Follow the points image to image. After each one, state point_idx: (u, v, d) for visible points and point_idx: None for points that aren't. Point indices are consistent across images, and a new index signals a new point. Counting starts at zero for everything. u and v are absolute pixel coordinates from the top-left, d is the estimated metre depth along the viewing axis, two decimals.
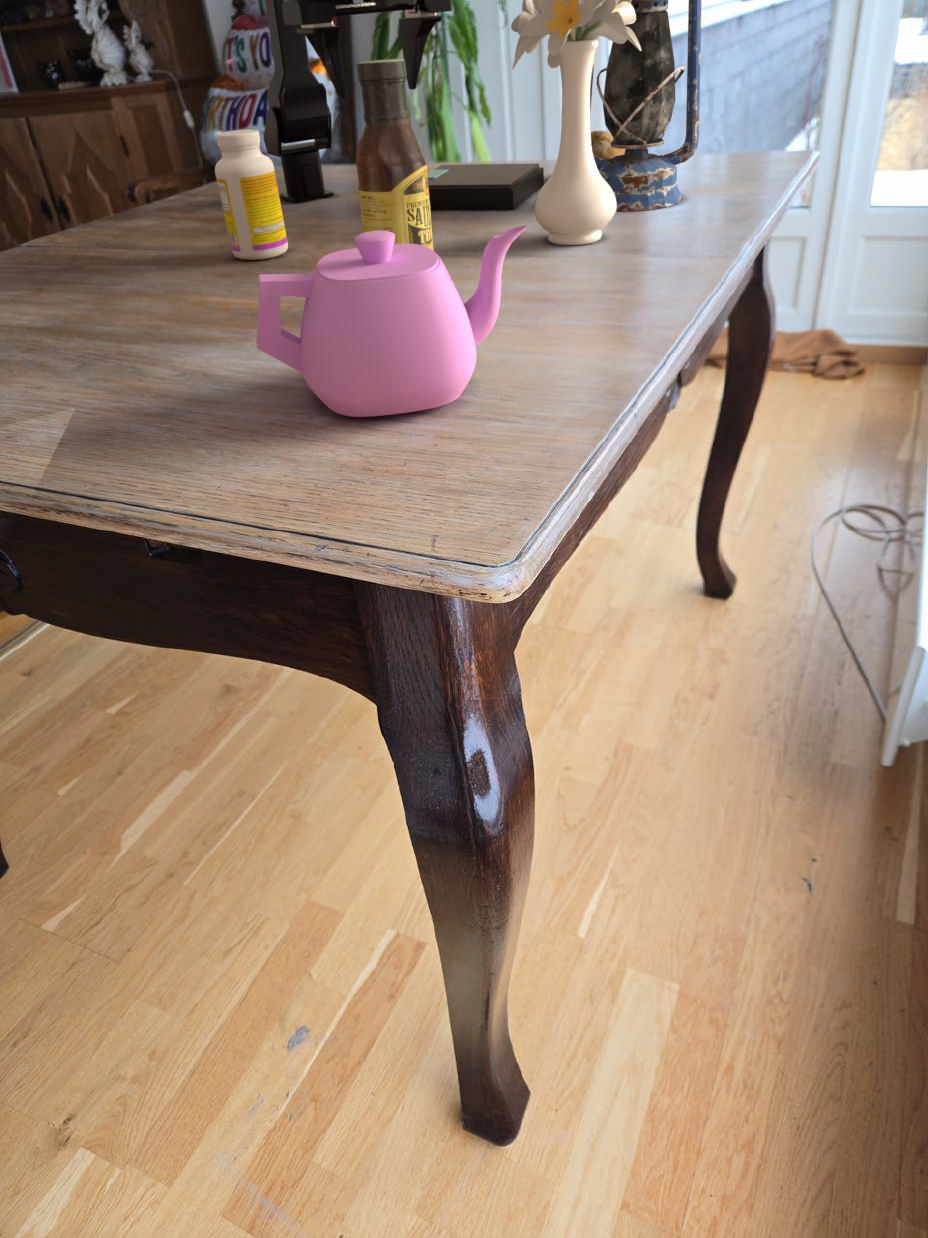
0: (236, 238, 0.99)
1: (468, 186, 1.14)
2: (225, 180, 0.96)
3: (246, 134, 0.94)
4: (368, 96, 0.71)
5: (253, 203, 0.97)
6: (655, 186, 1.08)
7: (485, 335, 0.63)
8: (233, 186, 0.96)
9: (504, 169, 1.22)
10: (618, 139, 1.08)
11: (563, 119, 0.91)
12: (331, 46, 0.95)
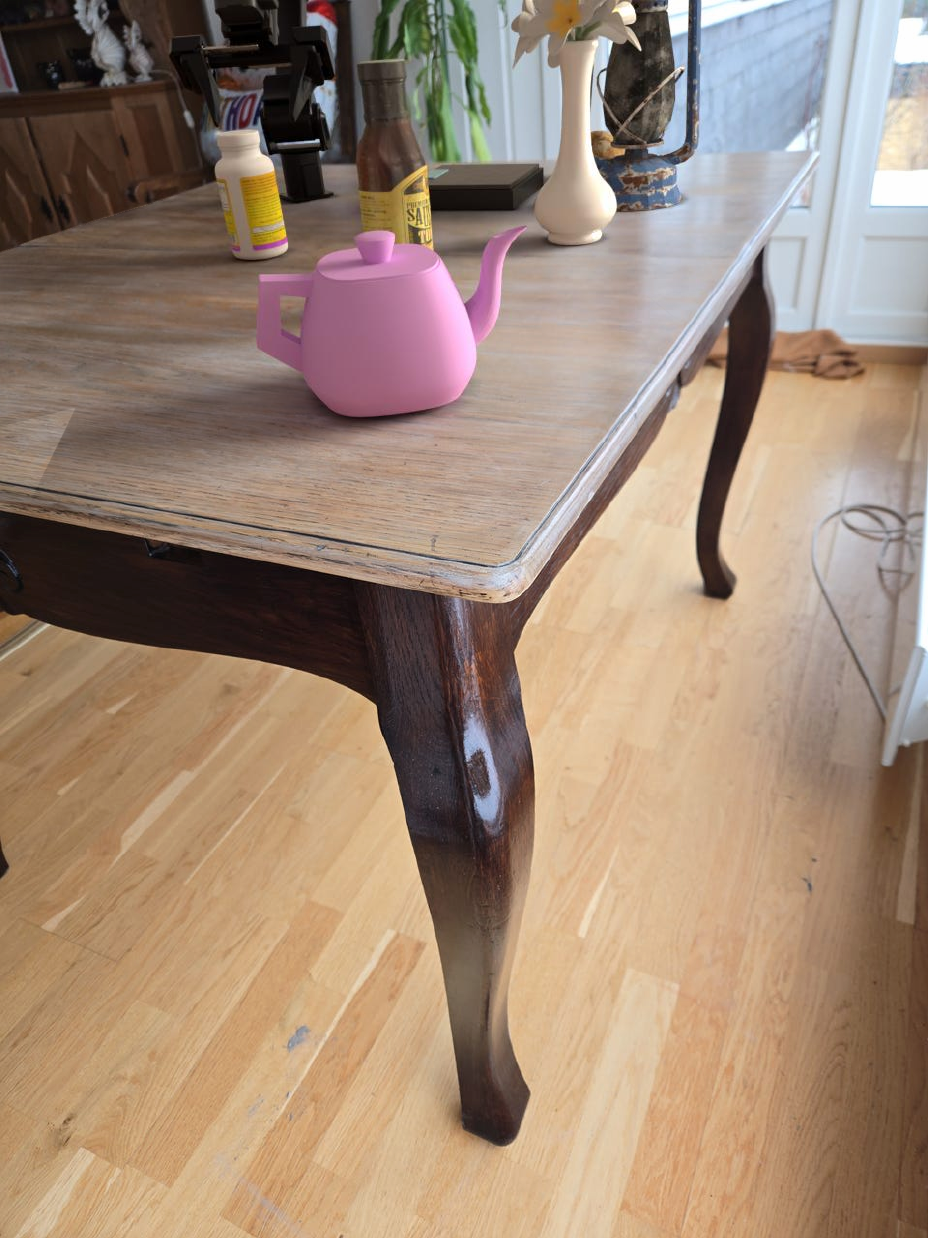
0: (236, 238, 0.99)
1: (468, 186, 1.14)
2: (225, 180, 0.96)
3: (246, 134, 0.94)
4: (368, 96, 0.71)
5: (253, 203, 0.97)
6: (655, 186, 1.08)
7: (485, 335, 0.63)
8: (233, 186, 0.96)
9: (504, 169, 1.22)
10: (618, 139, 1.08)
11: (563, 119, 0.91)
12: (200, 76, 1.01)
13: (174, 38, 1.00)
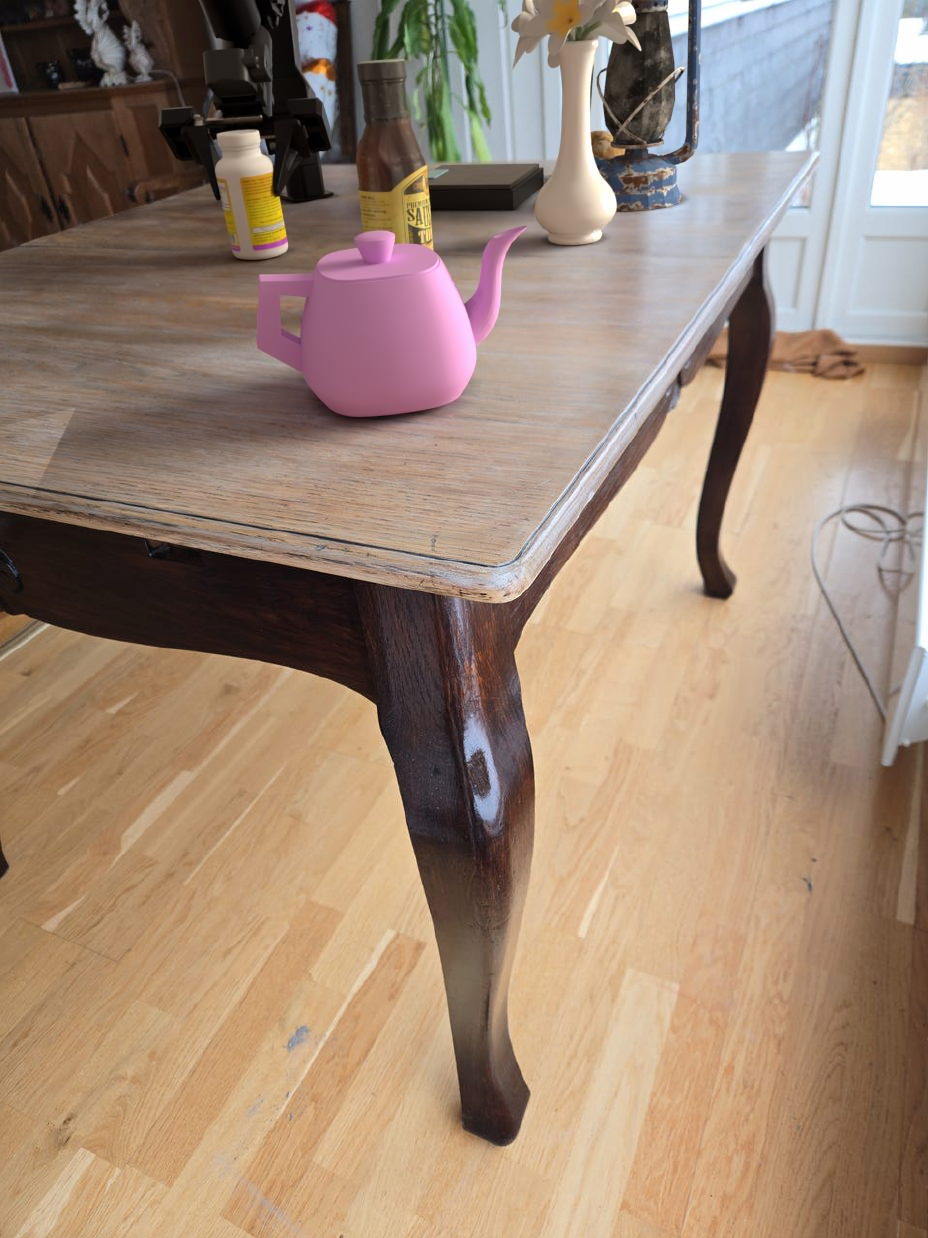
0: (236, 238, 0.99)
1: (468, 186, 1.14)
2: (225, 180, 0.96)
3: (246, 134, 0.94)
4: (368, 96, 0.71)
5: (253, 203, 0.97)
6: (655, 186, 1.08)
7: (485, 335, 0.63)
8: (233, 186, 0.96)
9: (504, 169, 1.22)
10: (618, 139, 1.08)
11: (563, 119, 0.91)
12: (201, 148, 0.97)
13: (164, 110, 0.97)
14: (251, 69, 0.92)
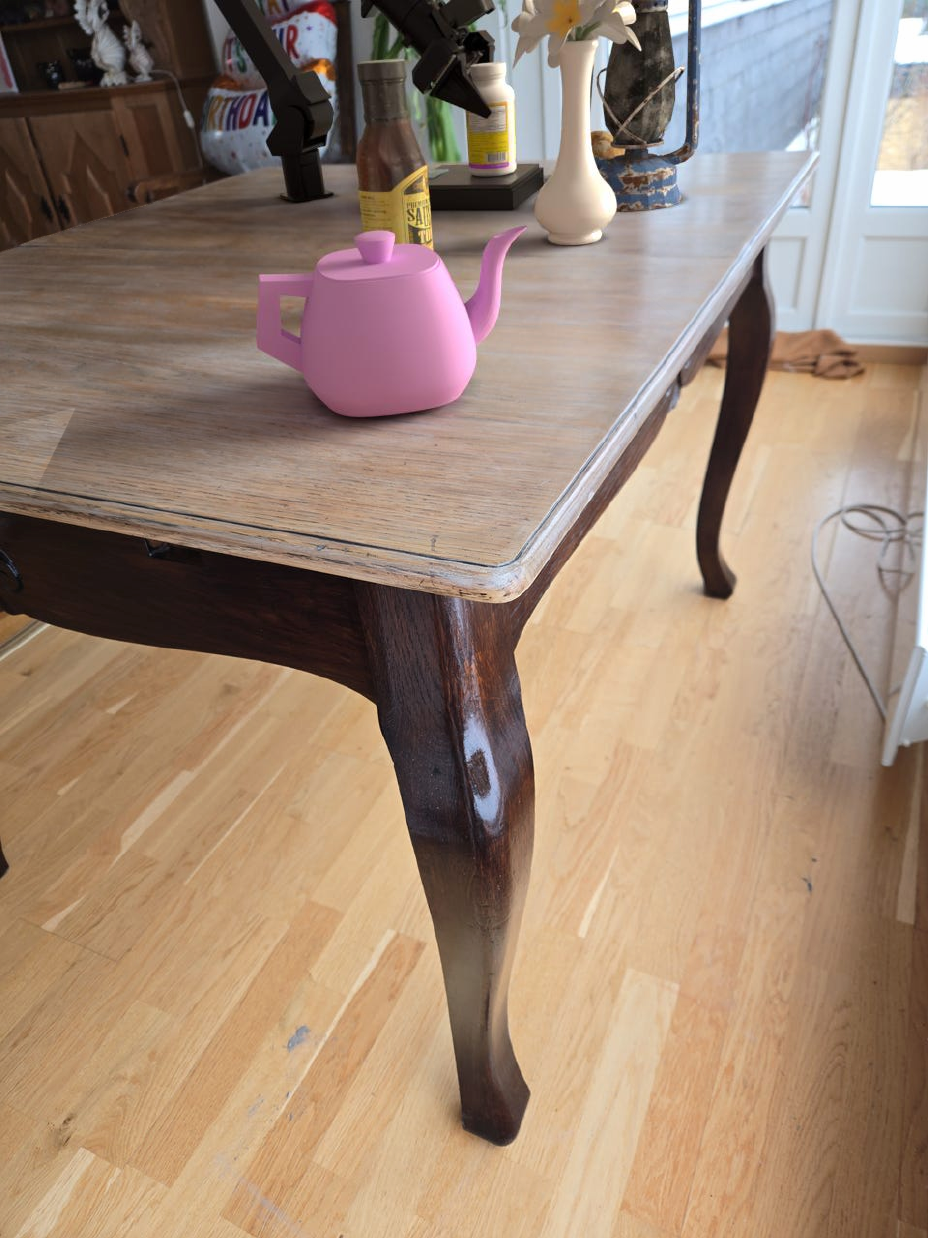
0: (507, 154, 1.16)
1: (468, 186, 1.14)
2: (506, 102, 1.12)
3: (504, 62, 1.13)
4: (368, 96, 0.71)
5: None
6: (655, 186, 1.08)
7: (485, 335, 0.63)
8: (510, 107, 1.13)
9: None
10: (618, 139, 1.08)
11: (563, 119, 0.91)
12: (465, 74, 1.08)
13: (444, 40, 1.05)
14: None
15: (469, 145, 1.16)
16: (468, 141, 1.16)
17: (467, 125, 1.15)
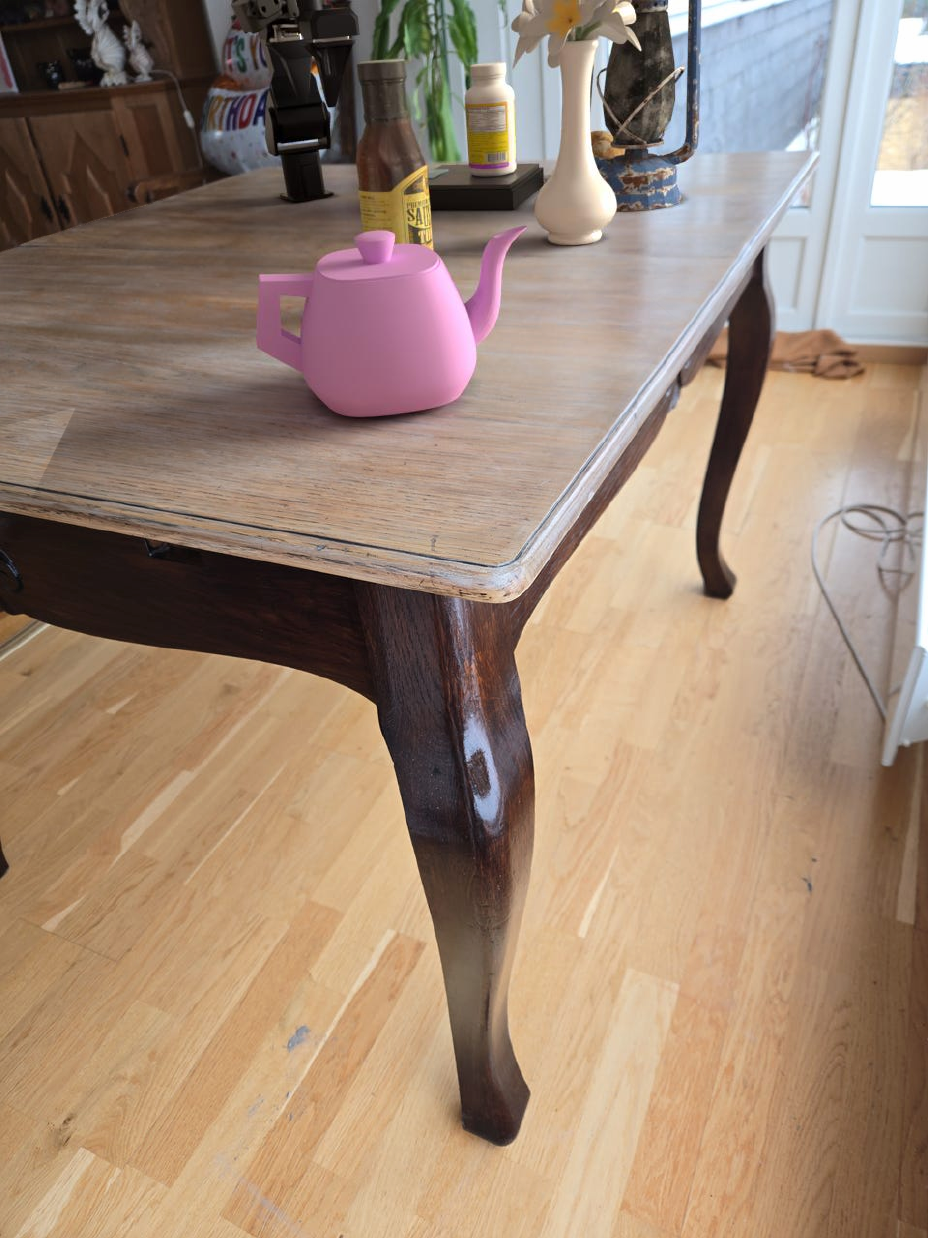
0: (507, 154, 1.16)
1: (468, 186, 1.14)
2: (506, 102, 1.12)
3: (504, 62, 1.13)
4: (368, 96, 0.71)
5: None
6: (655, 186, 1.08)
7: (485, 335, 0.63)
8: (510, 107, 1.13)
9: None
10: (618, 139, 1.08)
11: (563, 119, 0.91)
12: (281, 58, 1.12)
13: None
14: (257, 16, 1.01)
15: (469, 145, 1.16)
16: (468, 141, 1.16)
17: (467, 125, 1.15)
